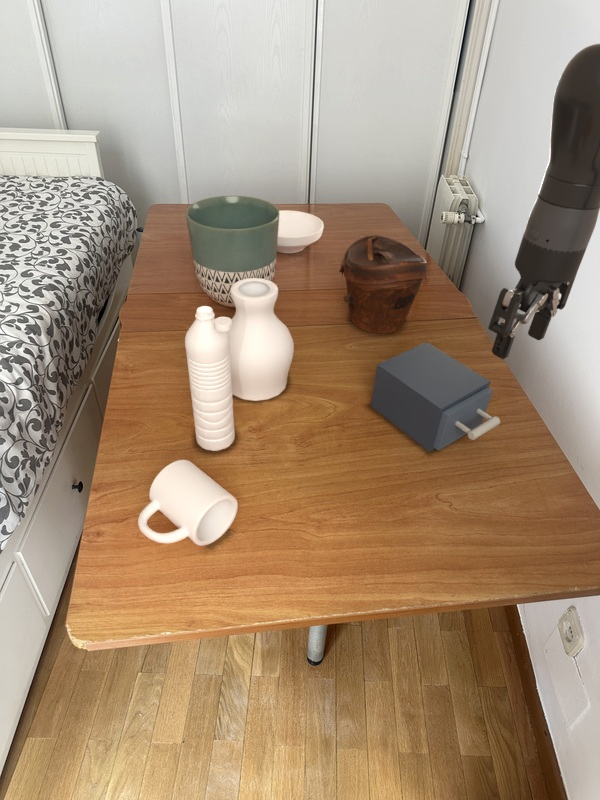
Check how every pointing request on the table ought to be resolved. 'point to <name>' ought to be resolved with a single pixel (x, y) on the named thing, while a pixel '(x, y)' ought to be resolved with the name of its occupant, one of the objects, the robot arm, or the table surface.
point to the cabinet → (422, 390)
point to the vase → (258, 342)
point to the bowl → (297, 230)
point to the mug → (188, 505)
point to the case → (381, 282)
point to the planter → (232, 242)
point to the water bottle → (210, 379)
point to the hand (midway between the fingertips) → (517, 346)
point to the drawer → (465, 419)
